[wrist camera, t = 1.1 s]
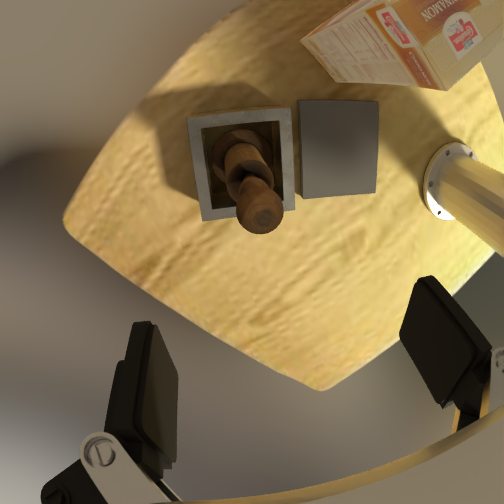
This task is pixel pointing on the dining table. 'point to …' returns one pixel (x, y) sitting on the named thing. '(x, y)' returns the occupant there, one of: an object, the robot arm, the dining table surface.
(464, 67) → the coffeecake box
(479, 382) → the robot arm
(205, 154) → the open square box
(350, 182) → the coaster
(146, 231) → the dining table surface
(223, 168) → the wooden pepper mill
